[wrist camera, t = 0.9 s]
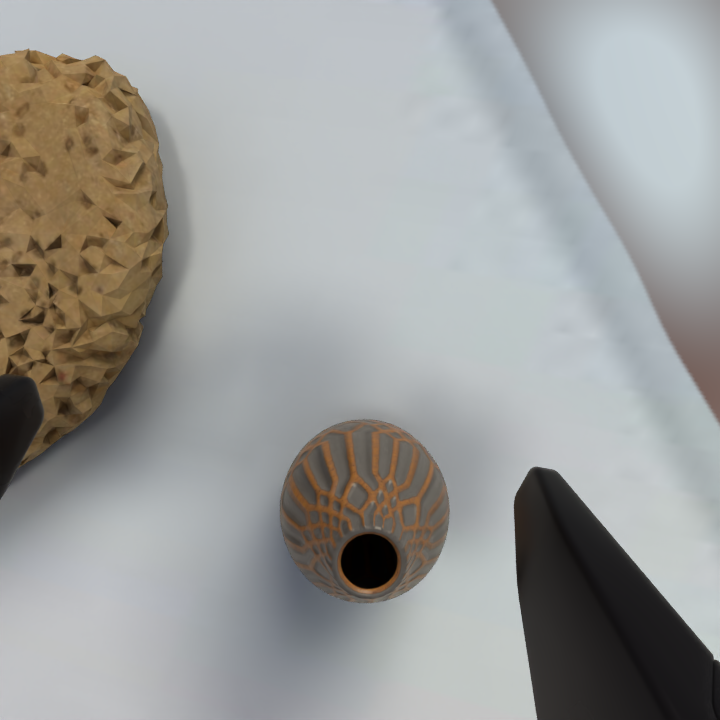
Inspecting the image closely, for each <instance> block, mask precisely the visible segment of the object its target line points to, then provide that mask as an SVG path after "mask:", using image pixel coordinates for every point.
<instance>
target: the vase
mask: <svg viewBox="0 0 720 720" xmlns="http://www.w3.org/2000/svg"><path fill="white" fill-rule="evenodd" d="M280 521H281V527H282V532H283V536H284V540H285V543H286V545H287V548H288V550H289V553H290V555H291V557H292V558H293V560H294V562H295V563H296V565H297V566H298V568H299V569H300V571H301V572H302V573H303V574H304V575H305V577H306V578H307V579H308V580H309V581H311V582H312V583H313V584H314V585H315V586H317V587H318V588H319V589H321V590H322V591H324V592H325V593H327V594H329V595H331V596H333V597H336V598H339V599H341V600H345V601H349V602H356V603H375V602H381V601H386V600H389V599H392V598H395V597H397V596H399V595H402V594H403V593H405V592H407V591H409V590H410V589H412V588H413V587H414V586H416V585H417V584H418V583H419V582H420V581H421V580H422V579H423V578H424V577H425V576H426V575H427V574H428V573H429V571H430V570H431V569H432V567H433V566H434V564H435V563H436V561H437V559H438V557H439V555H440V553H441V551H442V548H443V546H444V543H445V540H446V535H447V531H448V525H449V498H448V493H447V488H446V484H445V481H444V478H443V476H442V473H441V471H440V469H439V467H438V465H437V464H436V462H435V460H434V459H433V457H432V456H431V455H430V453H429V452H428V451H427V449H426V448H425V447H424V446H423V445H422V444H421V443H420V442H419V441H418V440H417V439H415V438H414V437H413V436H412V435H410V434H409V433H407V432H406V431H404V430H402V429H401V428H399V427H396V426H394V425H392V424H389V423H386V422H382V421H377V420H365V419H363V420H351V421H346V422H342V423H339V424H336V425H334V426H332V427H329V428H327V429H326V430H324V431H322V432H321V433H319V434H318V435H316V436H315V437H314V438H313V439H311V440H310V441H309V442H308V443H307V444H306V445H305V446H304V448H303V449H302V450H301V451H300V452H299V454H298V455H297V457H296V458H295V460H294V461H293V463H292V465H291V467H290V469H289V471H288V473H287V476H286V479H285V482H284V485H283V489H282V493H281V500H280Z"/></svg>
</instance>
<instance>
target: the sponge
mask: <svg viewBox="0 0 720 720" xmlns="http://www.w3.org/2000/svg"><path fill="white" fill-rule="evenodd" d="M158 149H159V142H158V138H157V134H156V129H155V126H154V124H153V121H152V119H151V116H150V113H149V110H148V109H147V107H146V105H145V104H144V102H143V100H142V99H141V97H140V96H139V94H138V89H137V88H135V87H132V86H131V85H130V83H129V81H128V79H127V78H126V77H125V76H123V75H121V74H119V73H117V72H114V71H113V69H112V68H111V67H110V65H109V64H108V63H107V62H106V60H104V59H102V58H100V57H98V56H96V55H95V56H93V57H90V58H88V59H85V60H78V59H75V58H72V57H70V56H67V55H65V54H63V53H62V54H61V55H60V56H58V57H57V58H55V57H52V56H49V55H47V54H44V53H41V52H38V51H36V50H35V51H29V49H27V50H24V51H15V53H14V54H7V55H1V56H0V376H1V375H3V374H16V375H21V376H27V377H30V378H32V379H33V380H34V381H35V383H36V386H37V389H38V392H39V395H40V399H41V402H42V405H43V408H44V419H43V422H42V425H41V427H40V428H39V430H38V432H37V434H36V436H35V438H34V439H33V441H32V443H31V445H30V447H29V449H28V451H27V452H26V454H25V456H24V458H23V460H22V462H21V463H20V465H19V467H21V466H22V465H24V464H25V463H27V462H29V461H30V460H32V459H34V458H35V457H37V456H39V455H40V454H41V453H43V452H44V451H45V450H46V449H47V448H48V447H50V446H51V445H52V444H53V443H55V442H56V441H57V440H59V439H60V438H61V437H63V436H64V435H66V434H68V433H69V432H71V431H73V430H74V429H75V428H76V427H77V426H79V425H80V424H81V423H82V422H83V421H85V420H86V419H87V418H88V417H89V416H90V415H92V414H93V412H94V411H95V410H96V409H97V408H98V407H99V406H100V405H101V402H102V400H103V398H104V396H105V393H106V391H107V389H108V388H109V387H110V386H111V384H112V383H113V382H114V381H115V379H116V378H117V376H118V375H119V373H120V372H121V370H122V369H123V367H124V366H125V364H126V363H127V362H128V360H129V359H130V356H131V355H132V353H133V352H134V350H135V349H136V348H137V346H138V343H139V340H140V337H141V333H142V330H143V327H144V326H143V325H142V324H141V323H140V322H139V320H140V319H141V318H142V317H145V315H146V309H147V307H148V305H149V303H150V301H151V298H152V296H153V294H154V291H155V288H156V285H157V284H158V282H159V281H160V280H161V278H162V262H163V261H162V250H163V243H164V242H165V240H166V238H167V237H168V235H169V232H168V227H167V208H168V204H167V201H166V198H165V193H164V187H163V181H162V168H163V165H162V162H161V159H160V157H159V154H158ZM19 467H18V468H19Z"/></svg>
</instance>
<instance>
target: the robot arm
mask: <svg viewBox="0 0 720 720" xmlns="http://www.w3.org/2000/svg"><path fill="white" fill-rule="evenodd" d="M43 419H44V408H43V405H42V402H41V399H40V395H39V392H38V389H37V386H36V383H35V381H34V380H33V379H32V378H30V377H27V376H21V375H16V374H3V375H1V376H0V499H1V497H2V496H3V494H4V492H5V491H6V489H7V487H8V485H9V484H10V482H11V480H12V478H13V476H14V474H15V473H16V471H17V469H18V467H19V465H20V463H21V462H22V460H23V458H24V456H25V454H26V452H27V451H28V449H29V447H30V445H31V443H32V441H33V439H34V438H35V436H36V434H37V432H38V430H39V428H40V427H41V425H42V422H43ZM514 520H515V545H516V571H517V586H518V594H519V602H520V608H521V615H522V622H523V628H524V635H525V641H526V648H527V655H528V661H529V668H530V674H531V681H532V687H533V694H534V701H535V707H536V714H537V720H720V662H719V661H717V660H714V658H713V655H712V653H711V652H710V651H709V650H708V649H707V647H706V646H705V645H704V644H703V643H702V641H701V640H700V639H699V638H698V637H697V636H696V634H695V633H694V632H693V631H692V630H691V628H690V627H689V626H688V625H687V624H686V623H685V621H684V620H683V619H682V618H681V617H680V616H679V614H678V613H677V612H676V611H675V610H674V608H673V607H672V606H671V605H670V604H669V603H668V601H667V600H666V599H665V598H664V597H663V596H662V594H661V593H660V592H659V591H658V590H657V588H656V587H655V586H654V585H653V584H652V583H651V581H650V580H649V579H648V578H647V577H646V575H645V574H644V573H643V572H642V571H641V570H640V568H639V567H638V566H637V565H636V564H635V563H634V561H633V560H632V559H631V558H630V557H629V555H628V554H627V553H626V552H625V551H624V550H623V548H622V547H621V546H620V545H619V544H618V542H617V541H616V540H615V539H614V538H613V537H612V535H611V534H610V533H609V532H608V531H607V530H606V528H605V527H604V526H603V525H602V524H601V522H600V521H599V520H598V519H597V518H596V517H595V515H594V514H593V513H592V512H591V511H590V509H589V508H588V507H587V506H586V505H585V504H584V502H583V501H582V500H581V499H580V498H579V497H578V495H577V494H576V493H575V492H574V491H573V489H572V488H571V487H570V486H569V485H568V484H567V482H566V481H565V480H564V479H563V478H562V476H561V475H560V474H559V473H558V472H556V471H555V470H552V469H547V468H541V467H533V468H531V469H530V471H529V472H528V474H527V476H526V477H525V479H524V481H523V483H522V484H521V486H520V488H519V490H518V491H517V493H516V496H515V500H514Z"/></svg>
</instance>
